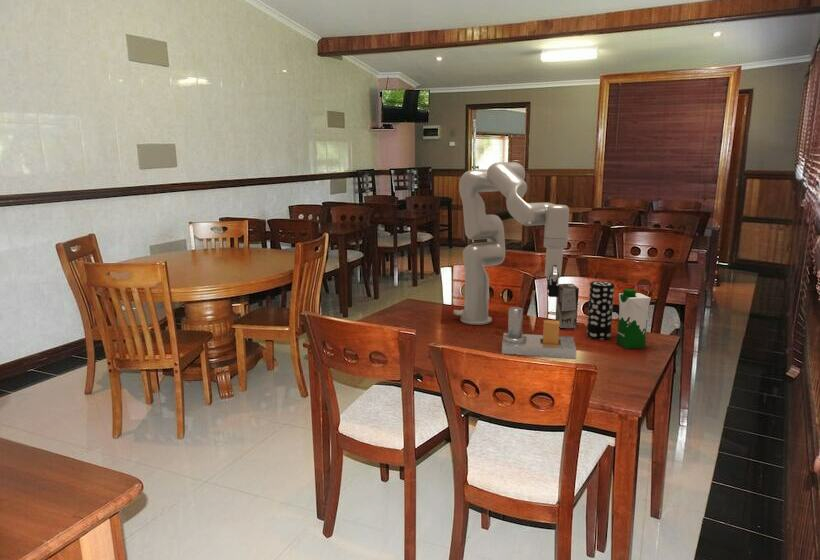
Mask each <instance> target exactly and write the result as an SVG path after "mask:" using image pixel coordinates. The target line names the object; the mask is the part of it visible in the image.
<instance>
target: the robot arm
mask: <svg viewBox="0 0 820 560" xmlns="http://www.w3.org/2000/svg"><path fill="white" fill-rule="evenodd" d="M525 178H526V170H525V168H524V166H523V165H522V164H520V163H519V162H515V161H512V162H511V161H508V162H507V161H505V162H502V161H501V162H495V163H492V164H490V166H489V167H488V168H487V169H486V168H485V169H483V168H482V169H471V170H467V171H466V172H464V173H463V174H462V175H461V178H460V180H459V184H458V189H459V190H458V191H459V196H460V198H461V203H462V207H463V208H462V212H463V225H464V233H465V236H466V237H467V239H469V240H472V241H473V240H475V241H476V240H486V241H487V242H475V243H471V244H468V245H467V246H465V247H464V249H463V252H462V260H463V264H464V308H463V309H460V310H459V309H453V315H455V316H460V322H461V323H463V324H466V325H473V326H481V325H483V326H484V325H488V324H491V323H492V322H493V318H492V317H491V316H489V294H490V277H489V274H488V272H487V271H486V268H485V267H493V266H498V265H501V264H502V263H503V262H504V260H505V259H506V241H505V240H506V239H505V229H504V227H505V226H504V222H503V221H502V219H501V218H500V216H499V215H496V214H487V213H486V205H485V202H484V200H483V198H482V196H481V195H480V194H479V193H482V192H483V193H487V192H489V193H490V192H491V193H492V192H500V193H501V195H503V196H504V197H505V204H506V209H507V212H508V213H509V215H510V217H512V218H513V219H514V220H515V221H516V222H518V224H520V225H522V226H525V227H531V226H532V227H533V226H544V233H543V248H546V249H545V250H546V251H545V264H544V265H545V266H544V277H545V278H547V288H546V289H547V290H548V293H547V296H548V297H549V298H556V297H558V293H559V285H558V284H559V281H560V280H559V279H560V278H561V275H562V270H563V269H562V268H563V258H564V249H568V235H569V220H570V207H569V206H568V205H566V204H556V203H555V204H554V203H552V202H527V201H525V200H524V199H523V198H524V196H525V195H526V193H527V190H528V185H527V182H526V181H525Z"/></svg>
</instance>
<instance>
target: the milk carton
mask: <svg viewBox="0 0 820 560" xmlns="http://www.w3.org/2000/svg"><path fill="white" fill-rule="evenodd" d="M651 299H652V297H649V296H647V295H645V294H643V293H640V292H637V290H636V289H634V288H624V289H623V291H622V293H618V303H619V308H618V309H619V311H618V324H617V325H618V326H617V335H616V342H617V343H616V342H615V343H616V344H618V345H619V346H622V347H623V348H624V349H626V350H627V349H629V350H630V349H646V345H647V344H646V341H647V340H646V339H647V327H648V315H649V307H650V303H651Z"/></svg>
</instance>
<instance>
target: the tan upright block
mask: <svg viewBox="0 0 820 560" xmlns="http://www.w3.org/2000/svg"><path fill="white" fill-rule="evenodd" d="M542 335H543V344H554V345H558V340H559V336H560V328H559V321H555V320H551V319H550V320H549V319H543V330H542Z"/></svg>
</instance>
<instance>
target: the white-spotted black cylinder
mask: <svg viewBox="0 0 820 560" xmlns="http://www.w3.org/2000/svg"><path fill="white" fill-rule="evenodd" d="M588 293H589V295H588V310H587V312H588V313H587V328H586V337H587V336H588V337H590V338H589V339H591V338H593V339H592V340H595V339H599V340H598V341H601V340H600V339H608V340H610V339H611V335H612V332H611V331H612V320H613V307H614V306H613V305H614V294H615V283H614V282H610V281H604V280H603V281H602V280H600V281H599V280H596V281H595V280H594V281H590V282H589V292H588ZM588 337H587V338H588ZM609 338H610V339H609Z"/></svg>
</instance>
